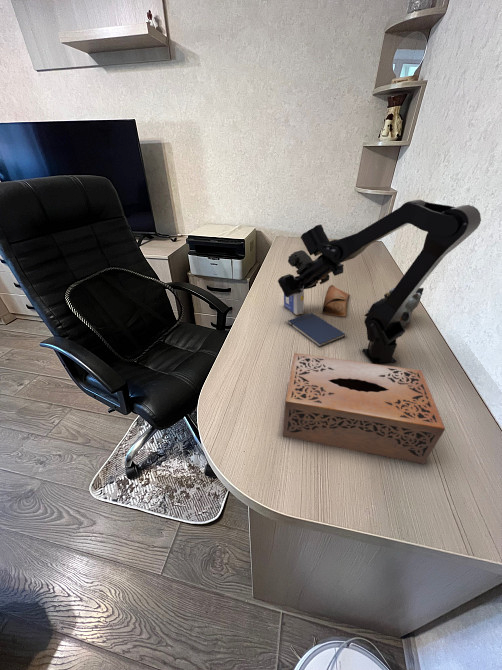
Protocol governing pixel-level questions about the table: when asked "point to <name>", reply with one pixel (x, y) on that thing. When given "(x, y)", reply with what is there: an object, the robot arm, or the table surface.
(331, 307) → the sunglasses case
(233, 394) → the table surface
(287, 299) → the walkman
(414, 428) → the tissue box cover
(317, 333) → the notebook
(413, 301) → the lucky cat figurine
